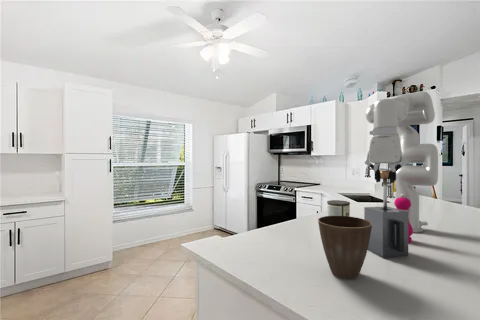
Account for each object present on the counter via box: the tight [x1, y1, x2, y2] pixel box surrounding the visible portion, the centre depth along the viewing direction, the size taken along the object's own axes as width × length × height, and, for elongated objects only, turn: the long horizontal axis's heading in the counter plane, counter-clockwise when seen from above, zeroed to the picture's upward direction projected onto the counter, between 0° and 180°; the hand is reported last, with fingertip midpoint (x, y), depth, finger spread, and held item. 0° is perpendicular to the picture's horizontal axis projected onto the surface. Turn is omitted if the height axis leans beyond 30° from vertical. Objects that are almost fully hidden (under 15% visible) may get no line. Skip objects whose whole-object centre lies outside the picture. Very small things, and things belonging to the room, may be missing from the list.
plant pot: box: [317, 215, 372, 280], centre depth 74 cm, size 15×15×16 cm
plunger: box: [379, 169, 391, 210], centre depth 92 cm, size 7×7×17 cm
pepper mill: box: [393, 194, 414, 244], centre depth 105 cm, size 7×7×20 cm
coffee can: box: [326, 199, 351, 217], centre depth 120 cm, size 10×10×14 cm
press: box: [363, 205, 409, 259], centre depth 90 cm, size 10×13×16 cm
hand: (385, 181), depth 92 cm, fingers closed on plunger, 4 cm apart
